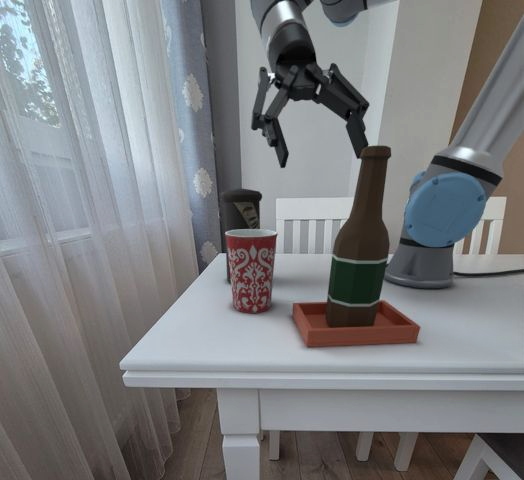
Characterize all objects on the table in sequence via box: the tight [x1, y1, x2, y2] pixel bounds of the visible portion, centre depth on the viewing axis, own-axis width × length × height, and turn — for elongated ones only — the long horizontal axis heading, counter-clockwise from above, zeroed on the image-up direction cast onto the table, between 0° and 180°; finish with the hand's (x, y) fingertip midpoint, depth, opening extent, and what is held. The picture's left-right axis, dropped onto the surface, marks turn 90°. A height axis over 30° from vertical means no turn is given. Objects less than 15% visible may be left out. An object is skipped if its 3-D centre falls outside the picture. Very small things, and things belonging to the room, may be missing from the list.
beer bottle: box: [326, 144, 392, 328], centre depth 42 cm, size 8×8×24 cm
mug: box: [224, 228, 279, 314], centre depth 55 cm, size 13×9×14 cm
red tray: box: [291, 299, 421, 348], centre depth 47 cm, size 17×12×3 cm
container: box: [219, 188, 263, 284], centre depth 68 cm, size 9×9×20 cm
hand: (324, 156), depth 47 cm, fingers open, 13 cm apart
